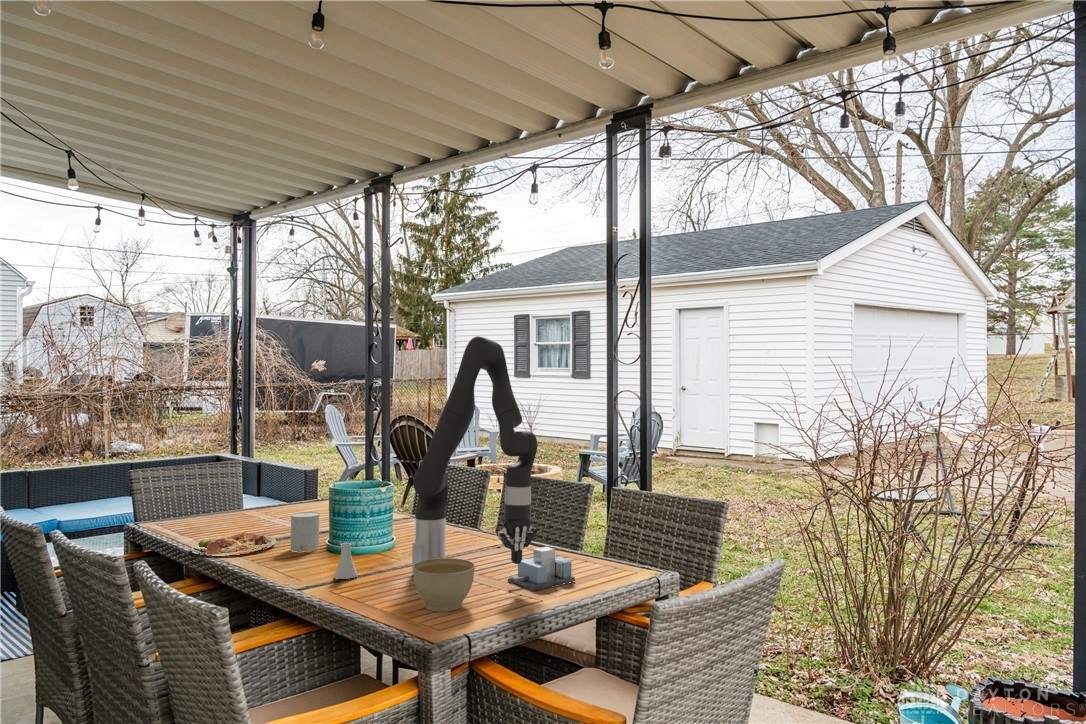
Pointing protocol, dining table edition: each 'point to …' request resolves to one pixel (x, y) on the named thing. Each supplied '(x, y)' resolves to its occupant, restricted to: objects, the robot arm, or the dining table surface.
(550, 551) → the steel block
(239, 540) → the rice dish
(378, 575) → the dining table surface
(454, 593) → the planter bowl
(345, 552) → the flask
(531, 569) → the sliding jaw
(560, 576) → the vise
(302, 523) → the grey cylinder
